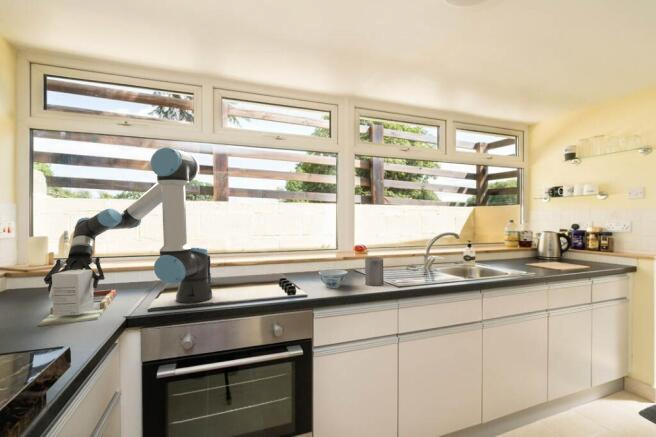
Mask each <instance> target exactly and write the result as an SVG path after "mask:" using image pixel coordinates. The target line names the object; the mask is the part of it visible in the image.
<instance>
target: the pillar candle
mask: <svg viewBox="0 0 656 437" xmlns="http://www.w3.org/2000/svg"><path fill="white" fill-rule="evenodd" d="M364 264H365V265H364V267H365V268H364V271H365V273H364V274H365V279H364V281H365V284H364V285H366V286H368V287H369V286H370V287H378V286H379V287H381V286H383V285H384V282H385V281H384V280H385V279H384V258H382V257H375V256H372V257H366V258H365V259H364Z"/></svg>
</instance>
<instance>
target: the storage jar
mask: <svg viewBox="0 0 656 437" xmlns="http://www.w3.org/2000/svg"><path fill="white" fill-rule="evenodd" d="M211 275H212V274H211V255H210V254H208V282H209V285H210V284H211V277H212V276H211Z"/></svg>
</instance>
